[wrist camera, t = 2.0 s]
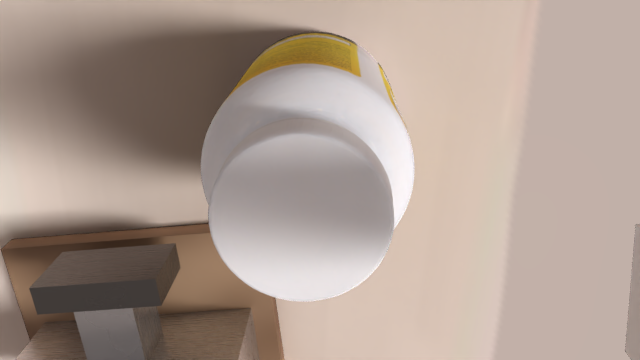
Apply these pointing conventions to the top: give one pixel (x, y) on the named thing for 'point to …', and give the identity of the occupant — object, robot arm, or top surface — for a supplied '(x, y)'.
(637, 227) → the robot arm
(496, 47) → the top surface
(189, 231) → the vise bed
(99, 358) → the sliding jaw
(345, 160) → the pill bottle
